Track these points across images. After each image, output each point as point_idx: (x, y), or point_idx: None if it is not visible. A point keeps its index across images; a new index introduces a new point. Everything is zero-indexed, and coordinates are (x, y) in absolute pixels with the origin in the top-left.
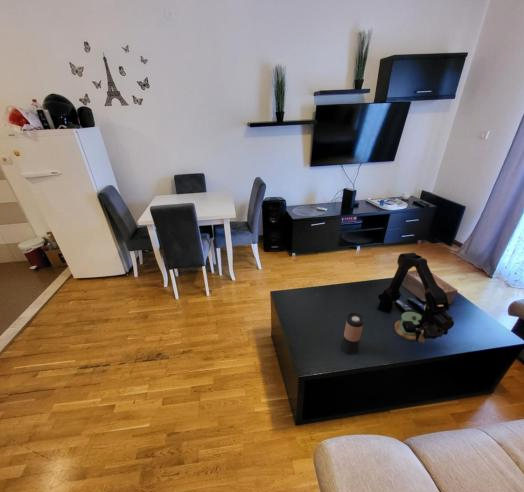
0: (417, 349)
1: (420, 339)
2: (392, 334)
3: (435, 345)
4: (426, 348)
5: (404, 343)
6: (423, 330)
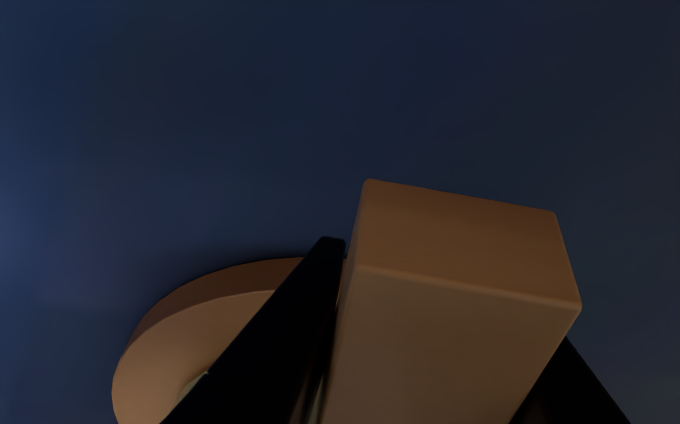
0: (457, 49)
1: (555, 320)
2: (665, 397)
3: (10, 116)
4: (228, 58)
5: (623, 227)
6: (139, 399)
